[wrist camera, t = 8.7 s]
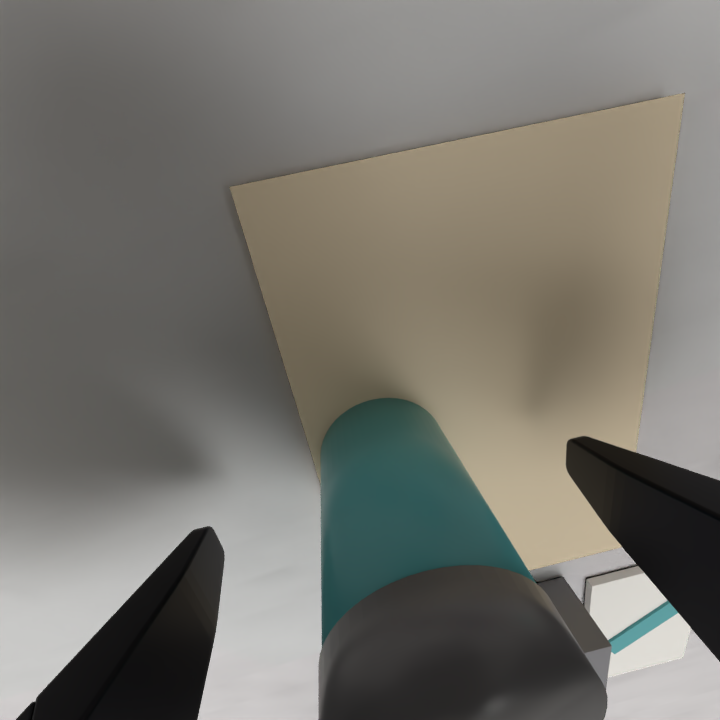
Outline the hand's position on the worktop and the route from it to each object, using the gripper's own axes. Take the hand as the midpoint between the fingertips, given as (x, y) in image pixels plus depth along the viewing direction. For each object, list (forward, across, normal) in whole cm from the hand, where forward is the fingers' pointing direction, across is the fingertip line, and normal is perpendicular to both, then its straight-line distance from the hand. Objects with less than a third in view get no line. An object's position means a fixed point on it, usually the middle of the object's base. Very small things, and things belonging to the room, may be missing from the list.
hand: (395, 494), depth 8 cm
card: (+2, -10, +12) cm, 15 cm away
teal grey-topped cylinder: (+2, 0, 0) cm, 2 cm away
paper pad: (+2, -3, 0) cm, 4 cm away
